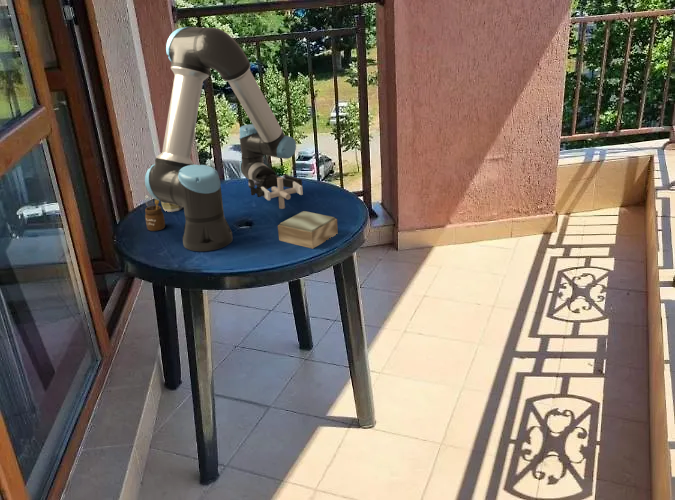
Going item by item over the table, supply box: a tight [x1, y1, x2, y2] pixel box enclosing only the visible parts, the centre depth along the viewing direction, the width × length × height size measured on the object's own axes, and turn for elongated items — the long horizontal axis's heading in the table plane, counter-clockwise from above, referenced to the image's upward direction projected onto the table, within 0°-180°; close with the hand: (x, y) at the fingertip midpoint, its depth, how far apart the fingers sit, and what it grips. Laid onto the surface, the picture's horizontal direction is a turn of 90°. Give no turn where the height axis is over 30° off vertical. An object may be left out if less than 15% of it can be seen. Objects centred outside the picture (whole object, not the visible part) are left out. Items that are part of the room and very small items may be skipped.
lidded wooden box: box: [277, 210, 339, 250], centre depth 197 cm, size 13×13×6 cm
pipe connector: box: [270, 176, 297, 210], centre depth 204 cm, size 10×10×10 cm
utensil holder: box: [144, 194, 166, 232], centre depth 209 cm, size 6×6×12 cm
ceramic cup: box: [160, 201, 184, 213], centre depth 226 cm, size 13×10×10 cm
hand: (285, 193), depth 200 cm, fingers closed on pipe connector, 10 cm apart
